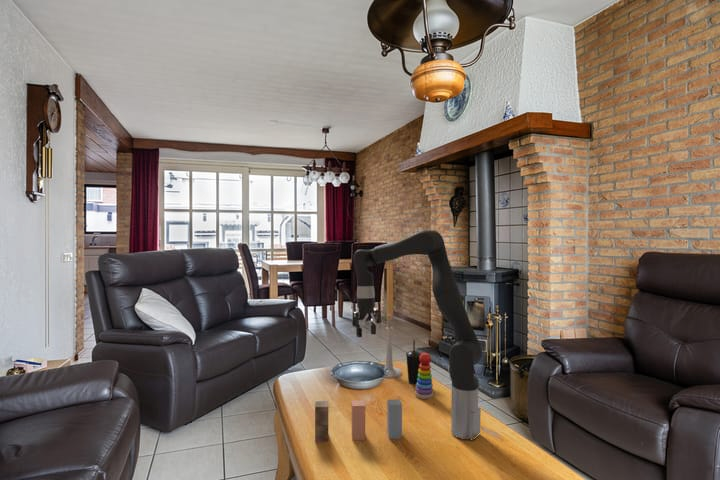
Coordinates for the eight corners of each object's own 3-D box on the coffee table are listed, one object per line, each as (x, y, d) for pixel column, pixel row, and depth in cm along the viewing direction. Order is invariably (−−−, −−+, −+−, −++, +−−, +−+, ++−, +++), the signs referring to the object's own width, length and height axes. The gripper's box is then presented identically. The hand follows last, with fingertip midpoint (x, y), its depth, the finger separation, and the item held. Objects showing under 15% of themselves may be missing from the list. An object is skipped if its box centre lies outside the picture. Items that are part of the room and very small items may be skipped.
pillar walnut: (328, 434, 144) (328, 401, 144) (328, 441, 140) (328, 406, 140) (315, 434, 144) (315, 401, 144) (315, 441, 140) (315, 407, 139)
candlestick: (372, 375, 202) (372, 314, 201) (382, 367, 213) (383, 310, 212) (396, 379, 196) (396, 317, 195) (405, 371, 207) (406, 312, 206)
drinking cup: (422, 385, 189) (423, 342, 188) (406, 385, 189) (406, 342, 188) (420, 379, 196) (421, 338, 196) (404, 379, 196) (405, 338, 196)
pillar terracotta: (364, 433, 145) (364, 400, 145) (365, 439, 141) (365, 405, 140) (351, 433, 145) (351, 400, 145) (352, 440, 141) (352, 406, 140)
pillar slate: (399, 432, 146) (399, 399, 146) (401, 438, 142) (402, 404, 141) (387, 432, 146) (387, 399, 146) (388, 439, 141) (389, 405, 141)
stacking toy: (432, 401, 172) (432, 357, 171) (413, 398, 175) (413, 355, 174) (434, 393, 180) (435, 351, 179) (416, 391, 182) (417, 349, 182)
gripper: (360, 298, 165) (361, 339, 164) (383, 296, 175) (384, 334, 174) (347, 297, 170) (348, 337, 169) (370, 295, 180) (371, 332, 179)
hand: (366, 335), depth 172 cm, fingers open, 8 cm apart
